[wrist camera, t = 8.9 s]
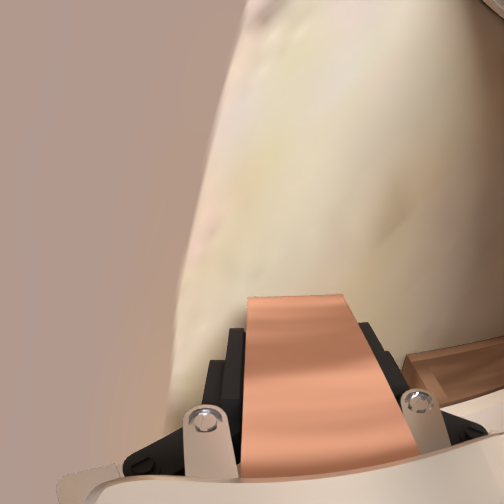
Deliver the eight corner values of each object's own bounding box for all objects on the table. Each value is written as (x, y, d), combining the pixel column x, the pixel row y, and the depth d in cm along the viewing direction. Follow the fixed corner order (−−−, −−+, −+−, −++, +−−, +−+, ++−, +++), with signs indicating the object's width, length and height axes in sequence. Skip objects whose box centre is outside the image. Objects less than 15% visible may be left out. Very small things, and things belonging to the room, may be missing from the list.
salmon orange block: (247, 297, 13) (237, 542, 4) (342, 294, 13) (443, 507, 4) (250, 370, 14) (246, 575, 5) (332, 367, 14) (385, 558, 5)
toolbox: (406, 354, 19) (436, 405, 14) (528, 329, 18) (560, 361, 14) (356, 485, 24) (365, 523, 20) (459, 457, 24) (474, 488, 19)
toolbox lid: (438, 408, 14) (462, 454, 10) (562, 363, 13) (586, 388, 10) (365, 525, 19) (371, 553, 16) (474, 490, 19) (484, 513, 16)
